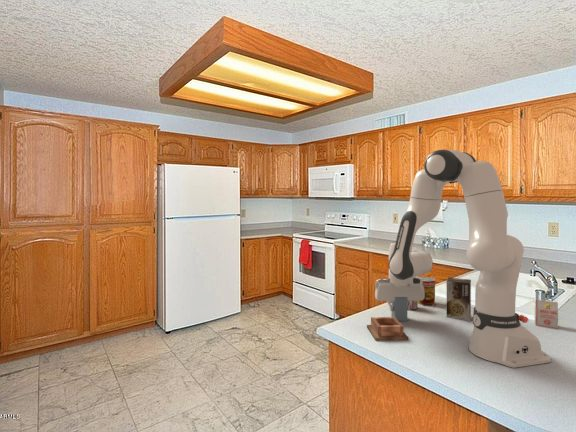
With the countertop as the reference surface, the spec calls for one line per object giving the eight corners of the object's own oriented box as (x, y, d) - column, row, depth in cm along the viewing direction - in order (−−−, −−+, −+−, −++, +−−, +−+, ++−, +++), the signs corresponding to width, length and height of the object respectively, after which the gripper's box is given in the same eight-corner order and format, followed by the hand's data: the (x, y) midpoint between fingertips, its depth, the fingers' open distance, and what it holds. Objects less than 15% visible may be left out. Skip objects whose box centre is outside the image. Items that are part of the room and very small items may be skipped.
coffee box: (471, 316, 138) (471, 279, 138) (470, 321, 133) (470, 282, 132) (447, 312, 143) (448, 276, 142) (445, 317, 138) (446, 280, 137)
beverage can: (405, 304, 154) (406, 280, 154) (419, 307, 150) (419, 282, 150) (401, 308, 150) (401, 282, 149) (415, 311, 146) (415, 285, 145)
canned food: (419, 305, 153) (419, 280, 152) (415, 300, 161) (415, 276, 160) (436, 306, 152) (437, 281, 151) (432, 301, 159) (432, 277, 159)
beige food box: (534, 322, 131) (535, 298, 131) (555, 325, 128) (556, 301, 127) (535, 325, 128) (536, 300, 127) (557, 329, 124) (558, 303, 124)
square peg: (402, 316, 139) (403, 293, 139) (407, 320, 134) (407, 297, 134) (391, 316, 139) (391, 294, 139) (395, 321, 134) (395, 297, 134)
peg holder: (396, 326, 129) (396, 315, 128) (408, 339, 117) (408, 327, 116) (366, 327, 129) (366, 316, 128) (375, 340, 117) (375, 328, 116)
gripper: (377, 280, 132) (377, 313, 133) (426, 279, 133) (426, 312, 134) (372, 277, 139) (372, 308, 140) (419, 276, 139) (419, 307, 140)
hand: (399, 310), depth 137 cm, fingers closed on square peg, 5 cm apart
